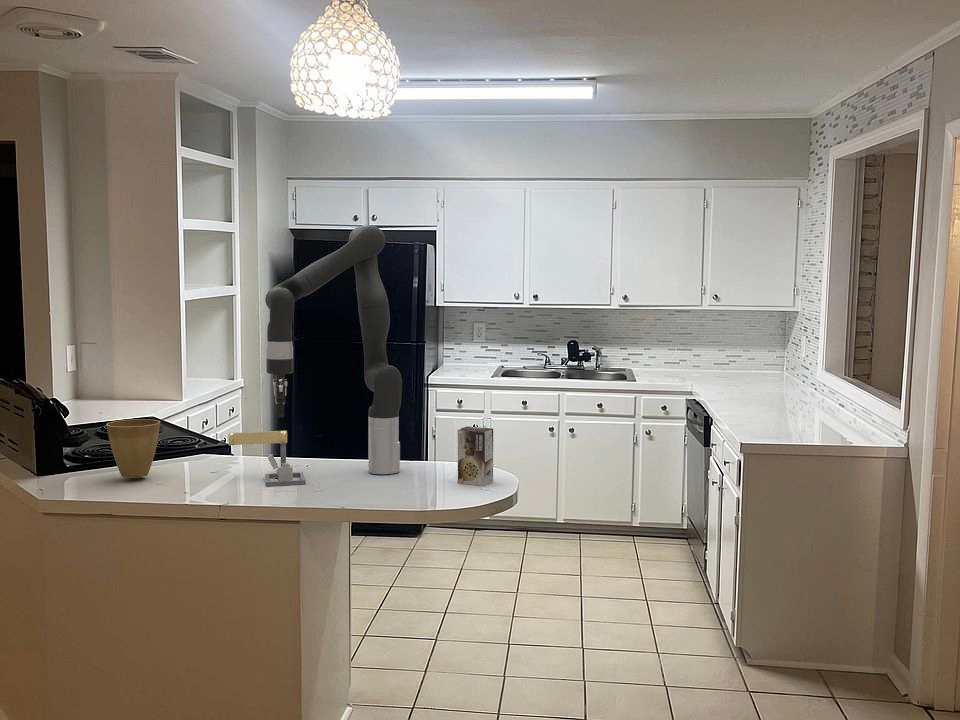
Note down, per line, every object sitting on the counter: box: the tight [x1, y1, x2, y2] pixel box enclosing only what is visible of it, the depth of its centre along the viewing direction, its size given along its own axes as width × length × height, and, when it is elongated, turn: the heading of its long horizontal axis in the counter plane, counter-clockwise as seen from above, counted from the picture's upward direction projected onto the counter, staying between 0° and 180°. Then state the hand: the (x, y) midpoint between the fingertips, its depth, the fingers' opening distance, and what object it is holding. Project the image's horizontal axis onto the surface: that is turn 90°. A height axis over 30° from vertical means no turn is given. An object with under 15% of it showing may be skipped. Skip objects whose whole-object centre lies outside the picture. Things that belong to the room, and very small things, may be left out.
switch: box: [264, 443, 306, 487], centre depth 258 cm, size 11×18×9 cm, turn 15°
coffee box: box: [457, 426, 494, 487], centre depth 255 cm, size 9×6×16 cm
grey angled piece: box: [267, 453, 294, 481], centre depth 255 cm, size 7×2×8 cm, turn 97°
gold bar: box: [227, 430, 288, 446], centre depth 262 cm, size 2×17×4 cm, turn 106°
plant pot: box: [105, 418, 161, 479], centre depth 260 cm, size 15×15×16 cm
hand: (280, 416), depth 253 cm, fingers closed
